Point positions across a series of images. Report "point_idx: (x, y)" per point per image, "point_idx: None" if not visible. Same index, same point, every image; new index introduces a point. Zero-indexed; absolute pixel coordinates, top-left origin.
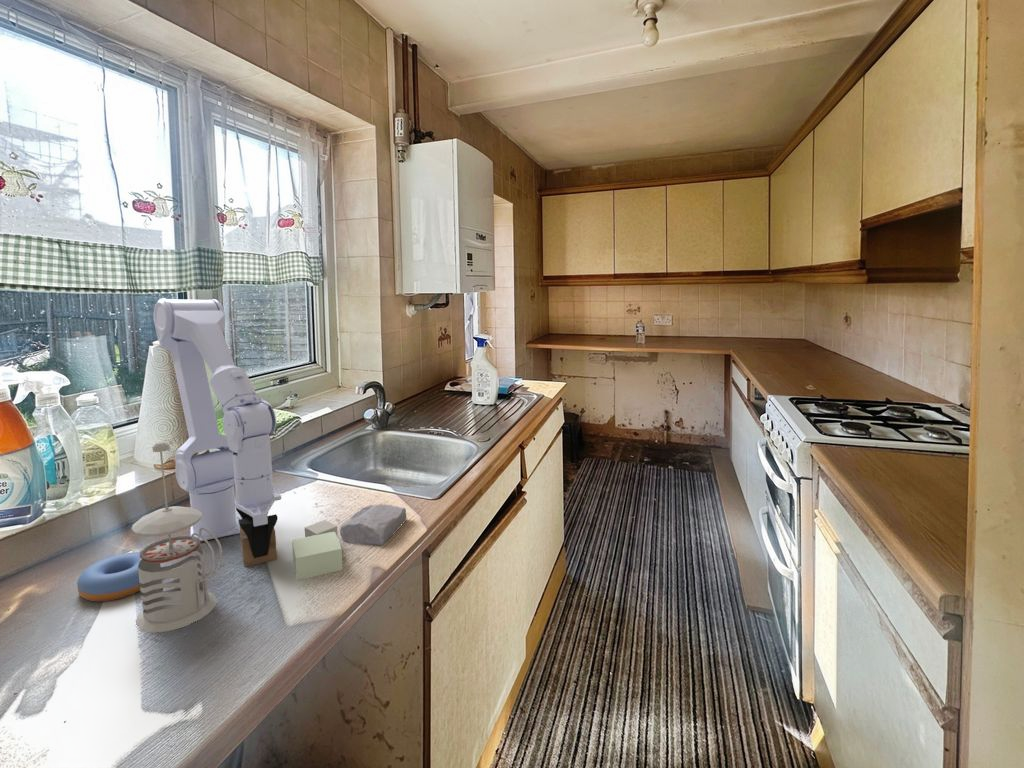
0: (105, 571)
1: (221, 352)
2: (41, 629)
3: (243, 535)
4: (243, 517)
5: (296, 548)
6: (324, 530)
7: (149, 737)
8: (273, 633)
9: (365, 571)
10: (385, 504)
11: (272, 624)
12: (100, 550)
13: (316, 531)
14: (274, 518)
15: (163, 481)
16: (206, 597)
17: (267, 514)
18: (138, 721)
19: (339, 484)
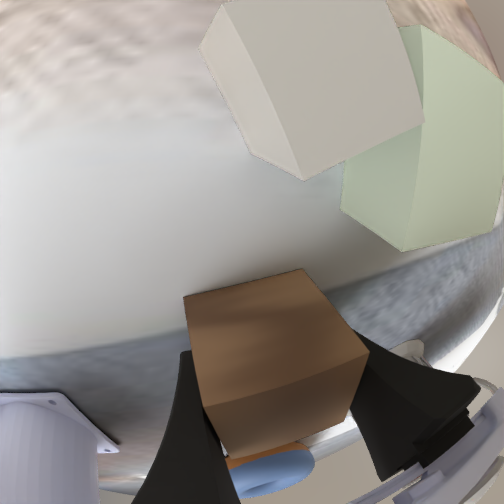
0: (262, 484)
1: None
2: (319, 454)
3: (317, 430)
4: (234, 489)
5: (461, 229)
6: (405, 66)
7: (497, 308)
8: (498, 241)
9: (466, 41)
10: None
11: (490, 244)
12: (132, 487)
13: (402, 114)
14: (473, 397)
15: None
16: (418, 361)
17: (208, 455)
18: (485, 322)
19: None
